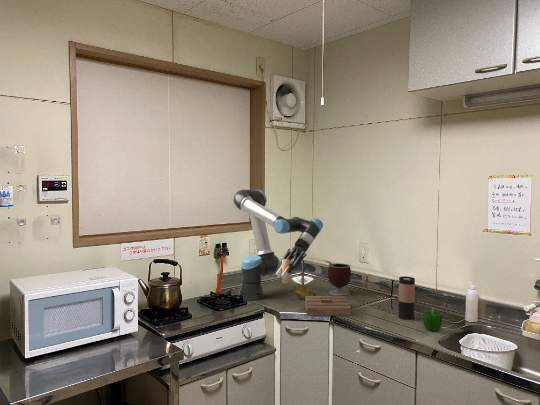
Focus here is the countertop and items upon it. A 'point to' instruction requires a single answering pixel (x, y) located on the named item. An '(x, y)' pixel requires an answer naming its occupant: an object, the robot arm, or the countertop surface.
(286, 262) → the peg
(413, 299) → the travel mug
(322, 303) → the hole block
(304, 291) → the potato
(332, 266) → the mate gourd
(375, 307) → the countertop surface
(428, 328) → the bell pepper
